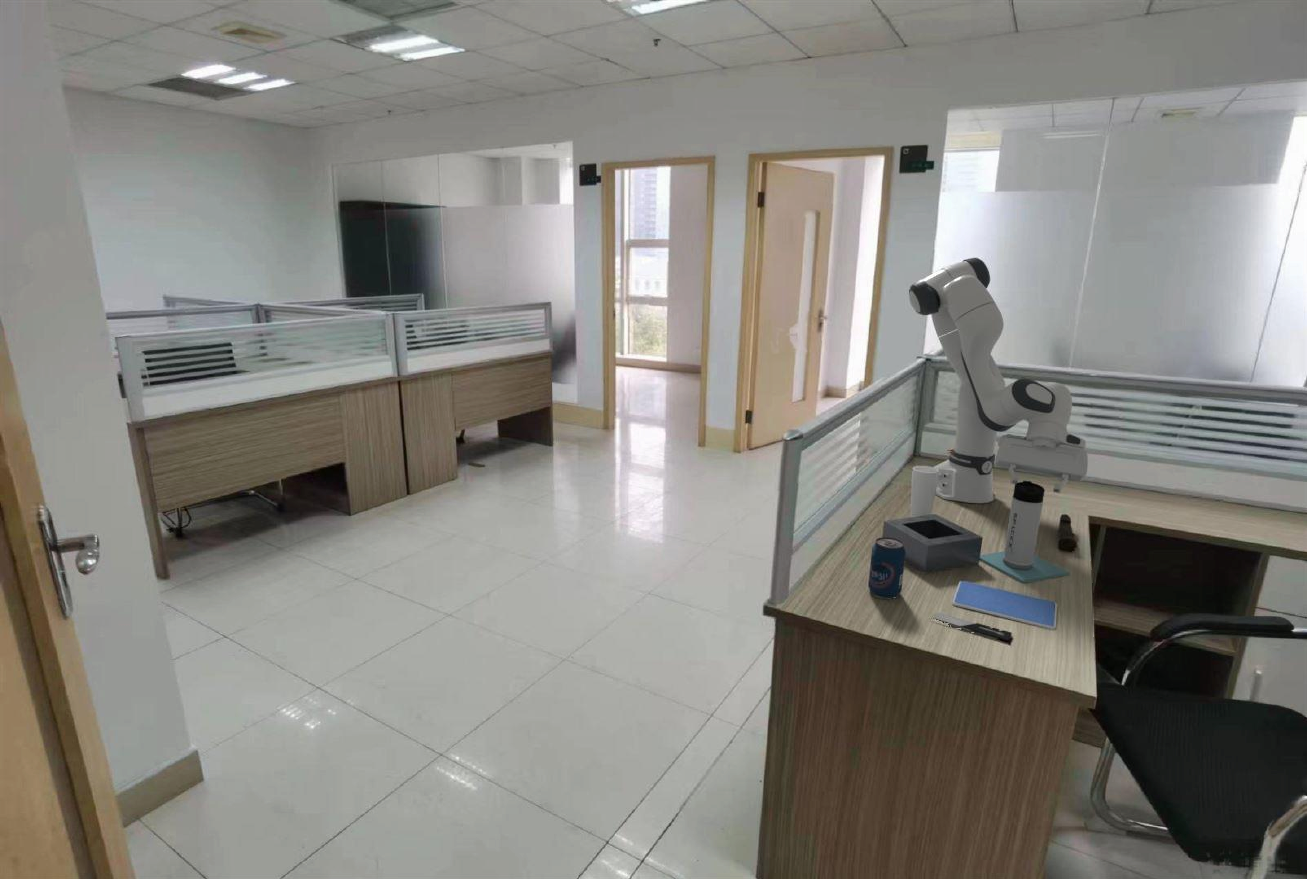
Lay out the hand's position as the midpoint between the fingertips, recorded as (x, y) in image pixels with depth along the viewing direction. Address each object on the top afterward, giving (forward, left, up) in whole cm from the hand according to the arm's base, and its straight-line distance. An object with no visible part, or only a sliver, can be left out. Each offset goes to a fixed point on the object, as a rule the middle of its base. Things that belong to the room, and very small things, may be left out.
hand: (1035, 487), depth 169 cm
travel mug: (+7, -10, -16) cm, 21 cm away
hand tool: (-2, +15, -17) cm, 22 cm away
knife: (+27, -42, -17) cm, 53 cm away
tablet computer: (+21, -28, -17) cm, 39 cm away
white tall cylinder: (-24, -12, -17) cm, 32 cm away
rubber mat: (+8, -9, -17) cm, 21 cm away
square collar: (-4, -26, -16) cm, 31 cm away
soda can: (+9, -49, -17) cm, 53 cm away
